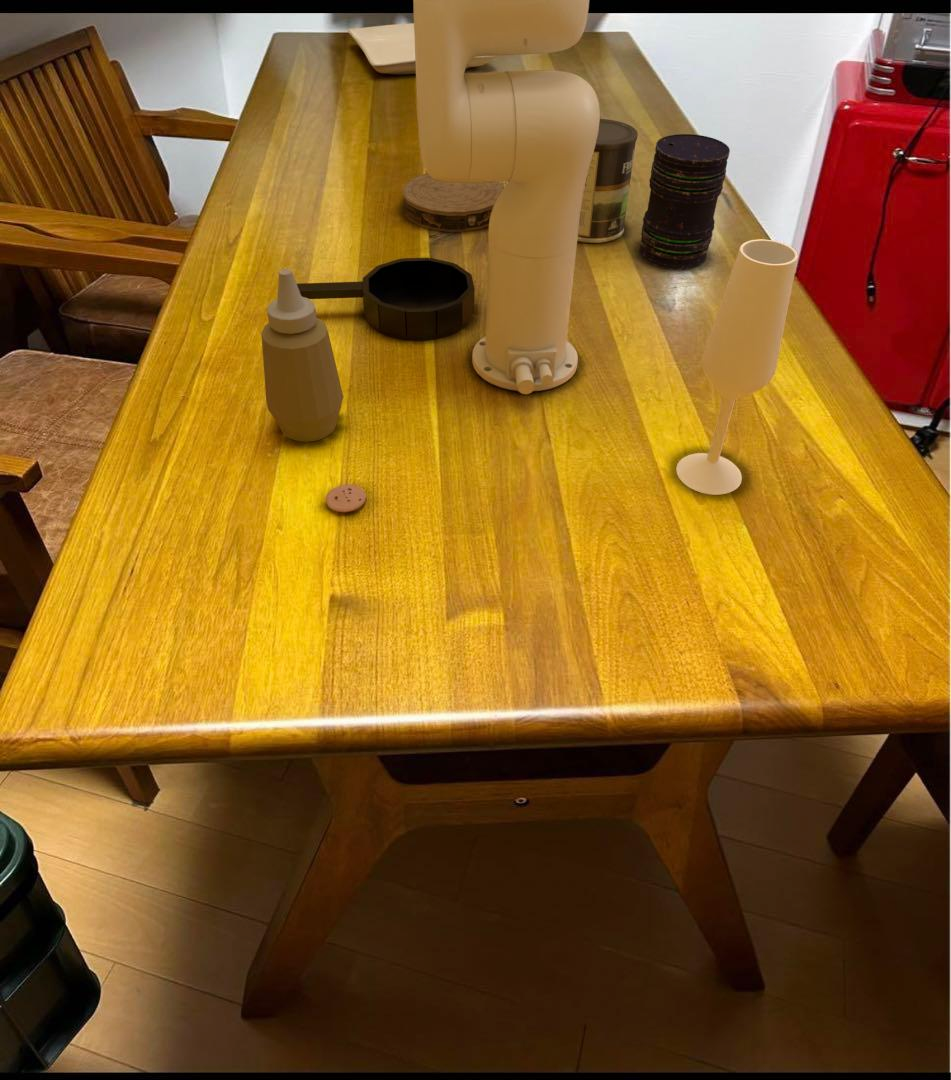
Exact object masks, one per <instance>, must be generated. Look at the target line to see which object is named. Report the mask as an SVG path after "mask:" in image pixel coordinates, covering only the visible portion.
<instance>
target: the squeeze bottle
mask: <svg viewBox="0 0 951 1080" xmlns="http://www.w3.org/2000/svg"><path fill="white" fill-rule="evenodd" d="M277 282H278V283H277V296H276V297H277V298H276V299H274V300H273V301H271V302H270V303H268V306H267V307H266V313H267V320H268V323H266V324H265V325H264V327H263V329H262V331H261V333H260V334H261V347H262V348H261V349H262V362H263V375H264V377H263V378H264V389H265V401H266V405H267V410H268V411H269V414H270V415H271V416H272V418H273V419H274V421H275V422H276V424H277V426H278V427H279V429H280V431H281V432H282V433H283V434H284V435H285V436H286V438H288V439H291V440H293V441H296V442H304V443H305V442H306V443H308V442H309V443H310V442H314V441H319V440H321V439H324V438H326V437H328V436H329V435H331V434H332V433H333V432H334V431H335V428H336V426H337V422H338V419H339V415H340V411H341V408H342V404H343V401H344V393H343V389H342V385H341V380H340V376H339V372H338V367H337V364H336V363H337V362H336V360H335V355H334V352H333V351H334V350H333V347H332V342H331V337H330V334H329V329H328V327H327V324H326V322H324V321H323V320H321V319H320V318H318V317H317V311H316V306H315V302H314V301H312V299H308V298H305V297H302V296H301V294H300V292H299V289H298V286H297V284H298V283H297V282H296V279H295V276H294V274H293V271H292V270H291V269H289V268H282V269H280V270H279V271H278V281H277Z"/></svg>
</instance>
